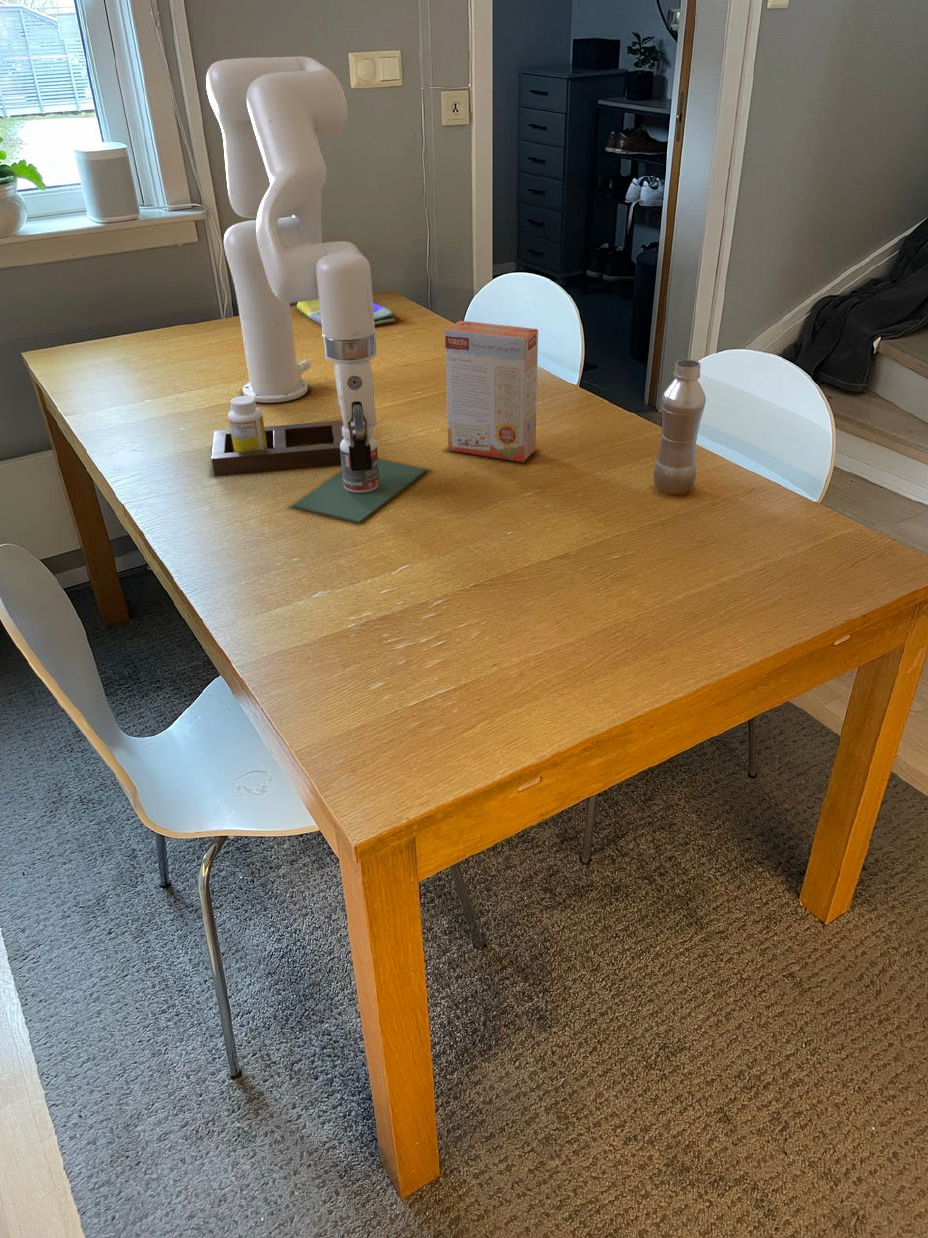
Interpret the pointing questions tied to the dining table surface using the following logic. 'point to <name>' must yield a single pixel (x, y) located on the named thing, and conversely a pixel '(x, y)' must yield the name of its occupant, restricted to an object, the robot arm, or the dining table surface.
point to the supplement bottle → (246, 425)
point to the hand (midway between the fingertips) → (359, 459)
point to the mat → (359, 505)
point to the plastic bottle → (680, 429)
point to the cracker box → (491, 389)
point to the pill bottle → (359, 479)
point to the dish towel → (313, 312)
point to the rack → (280, 449)
